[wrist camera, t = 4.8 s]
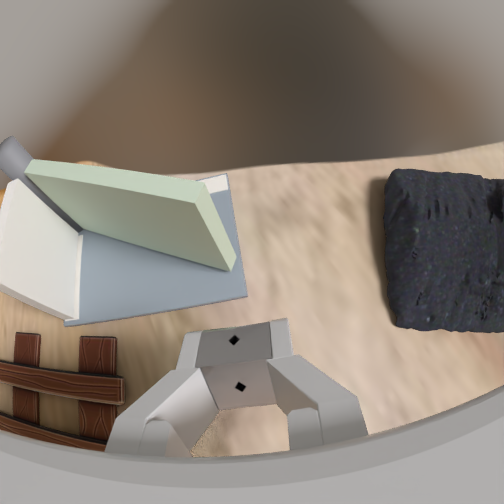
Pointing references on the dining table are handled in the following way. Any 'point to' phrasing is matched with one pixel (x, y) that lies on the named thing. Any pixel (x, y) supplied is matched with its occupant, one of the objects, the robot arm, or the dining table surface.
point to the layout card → (151, 273)
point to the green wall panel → (139, 209)
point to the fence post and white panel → (35, 240)
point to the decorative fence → (64, 391)
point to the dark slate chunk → (445, 250)
